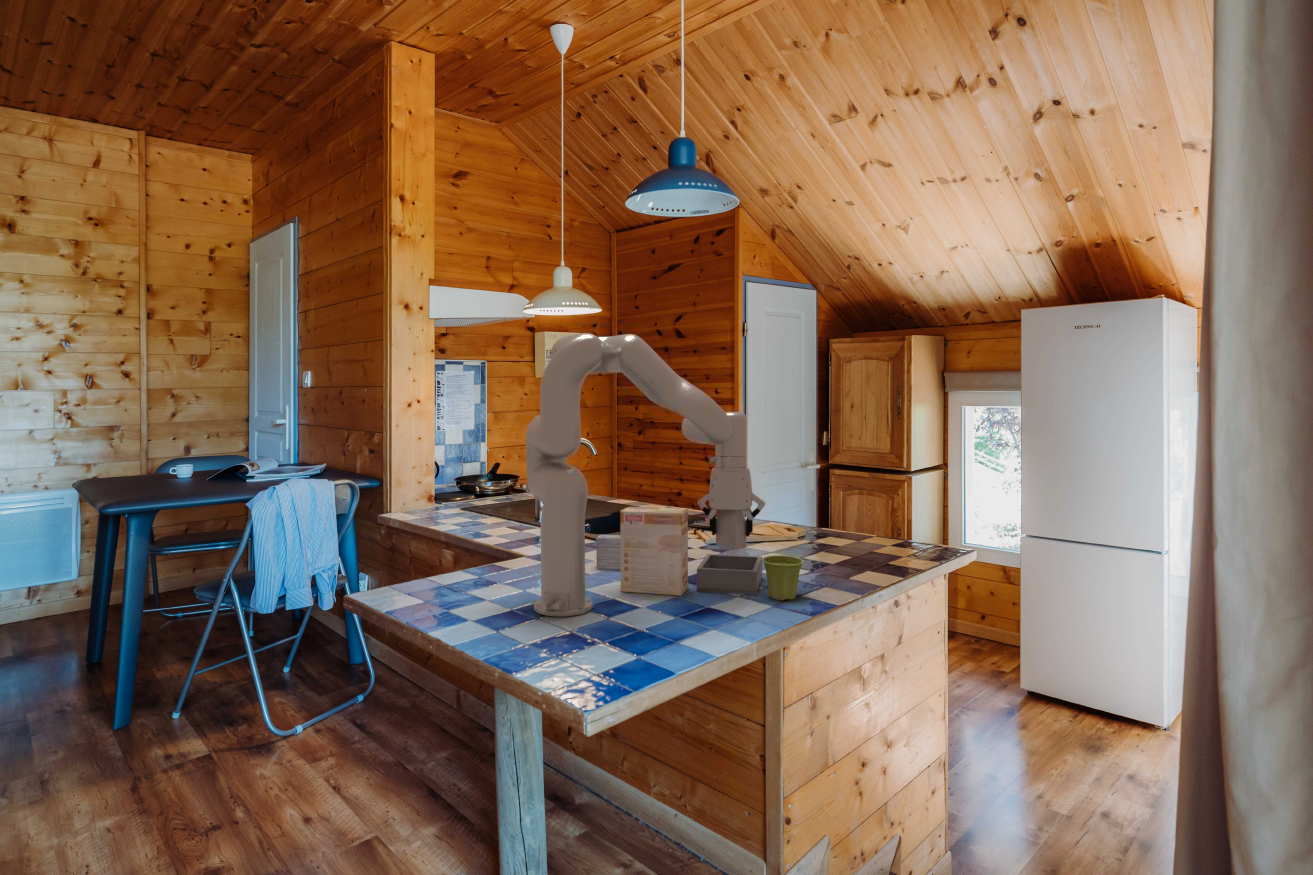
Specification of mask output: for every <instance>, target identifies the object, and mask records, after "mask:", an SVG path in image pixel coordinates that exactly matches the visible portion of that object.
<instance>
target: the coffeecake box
mask: <svg viewBox="0 0 1313 875" xmlns="http://www.w3.org/2000/svg"><path fill="white" fill-rule="evenodd" d="M688 509H689V508H676V507H675V508H673V507H672V508H671V507H649V506H648V507H646V506H645V507H644V506H643V507H642V506H628V507H625V508H623V509H621V510H620V513H619V514H620V515H619V516H620V532H619V533H620V535H621V570H620V591H621V593H622V592H623V593H638V594H639V593H640V594H650V595H651V594H653V595H654V594H655V595H667V596H680V597H682V596H683V594H684V593H685V592H686V591H688V589H689V540H688V539H689V536H688V535H689V527H688V526H689V521H688V520H689V519H688V518H689V514H688V513H689V512H688V511H689V510H688Z"/></svg>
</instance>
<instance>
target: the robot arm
mask: <svg viewBox="0 0 1313 875" xmlns="http://www.w3.org/2000/svg"><path fill="white" fill-rule="evenodd" d="M613 373H622V375H624V376H625V377H626V378H627V379H628V380H629V381H631V382H630V383H633V385H635V387H636V388H638V390H639V391H641V392H642V393H643V395H644V396H646V397H647V398H648V399H649V400H650V401H651V402H652V403H654V404H656V405H658V406H659V407H662V408H664V409H667V410H670V411H672V412H675V413H677V414H678V415H680V416H682V417H683V420H682V423H681V432H682V434H683V435H684V437H685V438H686V439H687V440H688V441H690V442H693V443H697V444H707V445H714V446H715V456H714V457H709V464H712V465H714V466H715V467H714V468H712V469H711V473H710V481H709V482H710V483H709V492H708V493H707V494H705V495H704V496H702V497H701V498H700V499H698V500H697V502H696V503H697V505H698V507H699V508H700V509H701V510H702V513H703V514H705V515H706V516H707V517H708V519H709V532H711V535H712V536H716V520H717V516H716V514H717V513H718V512H719V511H720V510H729V511H743V514H745V516H746V519H745V520H746V538H747V537H750V536H751V533H753V530H754V529H753V528H754V527H753V526H754V525H753V523H754V521H753V520H754V518H755V517H756V516H758V514H760V513H761V511H762V510H763V509H764V507H765V506H766V502H765V501H764V500H763V499H761V498H760V497H759V496H758V495H756V494H755V493H753V485H752V475H751V470H750V468H748V466H747V465H748V464H747V460H748V458H747V455H748V452H747V449H748V448H747V442H748V438H747V437H748V433H747V432H748V431H747V429H748V427H747V426H748V420H747V415H746V414H745V413H744V412H741V411H725V410H724V409H723V408H722V407H721V406H720V405H719V404H718V403H717V401H715V400H714V399H713V398H712V397H710V396H709V395H708V394H707V393H705V392H704V391H702V390H701V389H700V388H698V387H697V386H695V385H694V384H692V383H691V382H689V381H688V380H686V378H683V377H682V376H680V375H679V374H678V373H676V372H675V370H673V369H672V368H671V367H670V366H669V365H668V364H667V362H665V361H664V359H663V358H661V356H660V355H659V354H658V353H657V352H656V351H654V349H653V348H652V347H650V345H649V344H648V343H647V342H646V340H645V341H644V339H642V337H640V336H638V335H637V334H632V333H627V334H620V335H613V336H612V335H611V336H597V335H595V334H592V333H588V332H583V333H580V332H579V333H576V334H572V335H571V334H570V335H566V336H563V337H562V336H561V338H559V339H558V340H556V341H555V342H554V344H553V345H552V347H551V350H550V360H549V361H548V363H547V365H546V367H545V368H544V371H543V374H542V375H541V376H542V377H541V381H540V392H539V393H540V394H539V397H540V398H539V399H540V400H539V414H538V415H536V416H534V418H532V420H530V422H529V424H528V426H527V428H526V433H525V461H526V463H525V464H526V465H525V467H526V480H527V487H528V489H529V490H528V491H530V494H531V495H532V496H533V497H534V498H535V499H536V500H537V501H539V502H541V503H543V504H542V510H541V518H540V532H539V533H540V537H539V538H540V582H541V584H540V586H541V588H540V590H541V591H540V593H541V595H540V597H541V598H540V599H539V600H537V601H535V603H534V604H533V605H534V607H533V609H534V611H535V612H536V613H538V614H539V615H543V616H548V617H573V616H579V615H583V614H586V613H588V612H590V611H591V610H592V609H593V606H594V605H593V601H592V600H591V599H589V598H588V597H586V537H585V536H586V535H585V534H586V533H585V532H586V531H585V530H586V527H585V524H586V510H587V503H588V494H589V489H588V481H587V479H586V477H585V475H584V474H583V472H582V471H580V470H579V468H577V467H575V466H573V465H571V464H568V457H571V456H573V455H575V454H576V452H577V451H578V450H579V449H580V447H581V446H580V445H581V442H582V432H581V431H582V429H581V427H582V426H581V425H582V424H581V406H580V405H581V390H582V387H583V384H584V381H585V379H586V378H587V376H588V375H589V374H613ZM707 501H708V503H709V507H708V506H707V505H706V502H707ZM753 502H755V504H757V506H756V508H754V510H752V509H751V508H752V506H753Z"/></svg>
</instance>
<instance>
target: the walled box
mask: <svg viewBox="0 0 1313 875" xmlns="http://www.w3.org/2000/svg"><path fill="white" fill-rule="evenodd" d="M762 559H763V556H759V555H758V556H757V555H755V556H754V555H736V554H733V555H732V554H717V553H716V554H714V553H706V555H705V557H704V558H703V560H702V561H701V562H700V563H699V565H698V566H697V567H696V592H698V593H714V594H715V593H716V594H730V595H731V594H732V595H734V594H736V595H746V596H747V595H748V596H751V595H752V596H757V593H758V591H759V588H760V585H761V582H762V580H763V561H762Z"/></svg>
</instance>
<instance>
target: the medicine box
mask: <svg viewBox="0 0 1313 875" xmlns="http://www.w3.org/2000/svg"><path fill="white" fill-rule="evenodd" d="M595 540H596V541H595V544H596V547H595V548H596V549H595V550H596V556H595V557H596V570H599V571H600V570H601V571H602V570H604V571H605V570H609V571H610V570H611V571H613V570H614V571H616V570H617V571H621V534H599V535H598V536H597V537H596V539H595Z"/></svg>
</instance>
